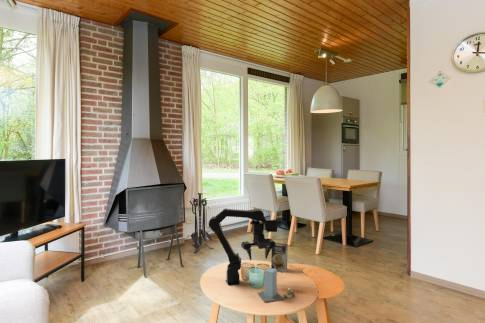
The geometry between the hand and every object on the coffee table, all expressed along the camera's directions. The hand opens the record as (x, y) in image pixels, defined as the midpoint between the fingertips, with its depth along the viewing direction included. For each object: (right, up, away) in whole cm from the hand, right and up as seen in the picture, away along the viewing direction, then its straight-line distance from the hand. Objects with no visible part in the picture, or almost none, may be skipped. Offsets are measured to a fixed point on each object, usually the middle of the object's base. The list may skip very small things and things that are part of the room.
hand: (258, 259), depth 170 cm
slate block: (+5, -13, -17) cm, 22 cm away
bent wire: (+14, -13, -16) cm, 25 cm away
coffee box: (+14, -13, +19) cm, 27 cm away
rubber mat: (+5, -13, -17) cm, 22 cm away
